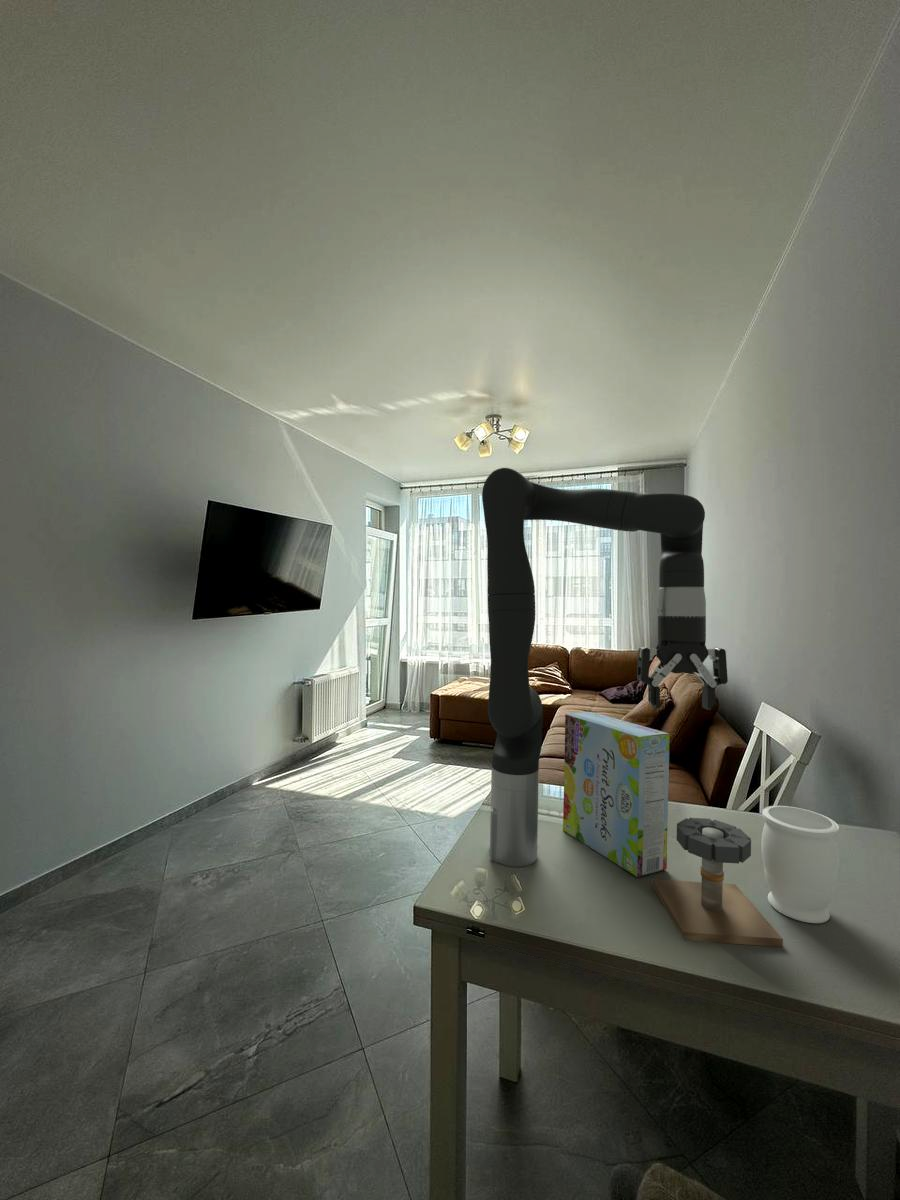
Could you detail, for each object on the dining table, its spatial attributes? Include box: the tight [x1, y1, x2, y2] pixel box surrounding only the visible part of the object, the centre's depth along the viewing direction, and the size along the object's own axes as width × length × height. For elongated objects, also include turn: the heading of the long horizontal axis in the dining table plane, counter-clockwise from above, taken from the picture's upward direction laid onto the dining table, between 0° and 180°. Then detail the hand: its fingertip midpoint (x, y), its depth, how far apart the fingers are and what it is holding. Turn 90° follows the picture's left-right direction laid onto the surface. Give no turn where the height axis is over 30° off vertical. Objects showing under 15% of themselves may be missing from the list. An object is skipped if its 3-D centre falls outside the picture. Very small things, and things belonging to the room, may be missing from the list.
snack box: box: [562, 711, 671, 878], centre depth 101 cm, size 22×9×26 cm, turn 26°
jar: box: [760, 805, 840, 924], centre depth 81 cm, size 11×10×15 cm
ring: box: [676, 817, 752, 864], centre depth 80 cm, size 10×10×2 cm
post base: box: [652, 827, 784, 948], centre depth 80 cm, size 14×14×13 cm
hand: (681, 708), depth 85 cm, fingers open, 8 cm apart
